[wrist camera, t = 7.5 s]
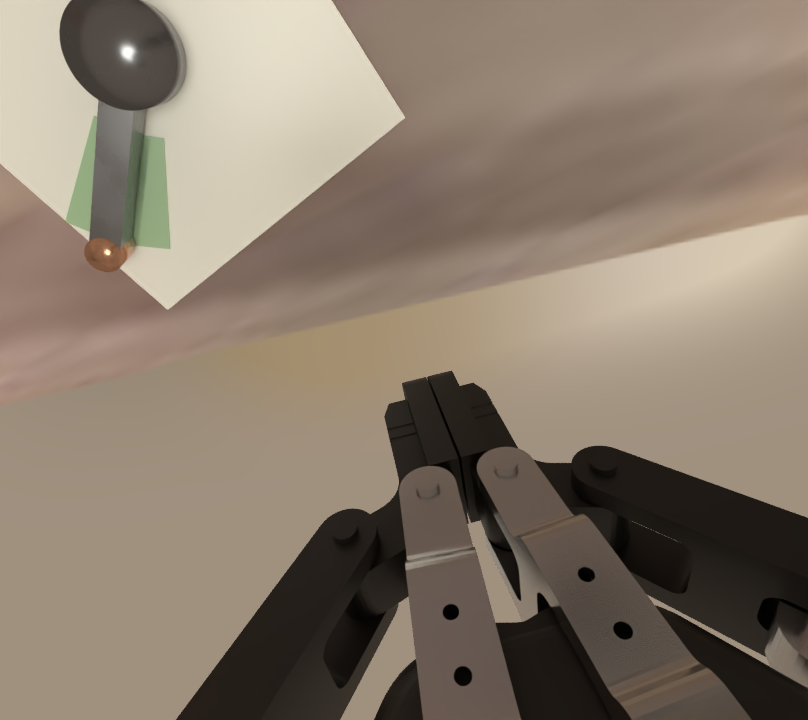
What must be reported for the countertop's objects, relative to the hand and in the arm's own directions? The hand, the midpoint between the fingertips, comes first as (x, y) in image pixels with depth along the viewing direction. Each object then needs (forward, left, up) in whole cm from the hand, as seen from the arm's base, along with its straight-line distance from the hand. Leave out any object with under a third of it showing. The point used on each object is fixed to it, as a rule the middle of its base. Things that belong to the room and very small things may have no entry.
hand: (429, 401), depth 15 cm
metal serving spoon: (+8, -11, -21) cm, 25 cm away
